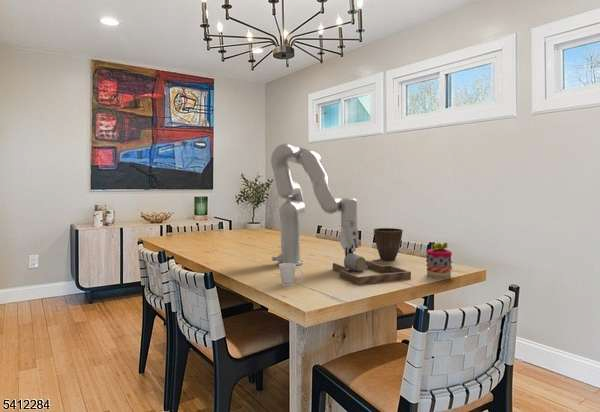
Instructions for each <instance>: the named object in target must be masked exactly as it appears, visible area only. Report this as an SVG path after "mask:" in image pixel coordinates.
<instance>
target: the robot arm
mask: <svg viewBox="0 0 600 412" xmlns="http://www.w3.org/2000/svg"><path fill="white" fill-rule="evenodd" d="M288 162H289V163H290V162H292V163H294V164H298V165H300V166H302V168H303V170H304V172H305V173H306V176H307V178H308V179H309V182H310V183H311V186H312V189H313V193H314V197H315V198H316V200H317V202H318V203H319V206H320V207H321V209H322V210H323V212H324V213H326V214H328V215H332V214H336V213H340V241H339V242H340V246H341V248H342V250H344V254H345V256H346V255H347V254H349V253H353V254H354V252H356V250H357V249H358V248H359V247H360V245H359V244H360V243H359V242H360V240H359V231H358V213H357V212H358V201H357V199H356V198H353V197H352V198H351V197H345V198H342V197H341V198H340V197H334V195H333V194H332V192H331V190H330V187H329V185H328V184H329V183H328V180H329V179H328V174H327V173H326V171H325V169H324V167H323V165H322V157H321V154H320V153H318V152H317V151H314V150H309V149H306V148H304V147H301V146H297V145H295V144H291V143H281V144H279V145H277V146H276V148H275V149H273V151H272V154H271V158H270V165H271V167H272V168H271V169H272V172H273V178H274V184H275V187H276V192H277V194H278V196H279V197H280V199H283V200H284V199H285V202H283V203H282V204H281V205H280V207H279V210H278V211H279V212H278V215H279V221H280V254H279V255H277V256H272V257H271V260H272V261H273V262H274V261H276V262H277V264H278V265H279V264H282V263H294V264H296V266H301V265H303V263H304V261H303V259H302V260H301V252H300V251H301V238H300V237H301V235H300V233H301V231H300V229H301V228H300V227H301V226H300V218H302V217H303V216H304V215H305V212H306V205H305V201H304V200H305V199H304V196H303V191H302V187H301V185H300V183H299V182H297V181H296V180H294V179H293V178H292V173H291V169H290V166H289V164H288ZM345 256H344V257H345Z"/></svg>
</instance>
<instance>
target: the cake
mask: <svg viewBox="0 0 600 412" xmlns="http://www.w3.org/2000/svg"><path fill="white" fill-rule="evenodd" d="M432 245H433V246H432V247H433V248H429V249H427V250H426V259H425V260H426V261H425V262H426V264H425V266H426V267H427V268H426V276H428V277H429V278H435V279H448V278H451V276H452V275H451V274H452V269H453V266H452V254H453V253H452V251H451V250H449V249H447V248H448V242H443V243H440V242H435V243H433V244H432Z"/></svg>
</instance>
